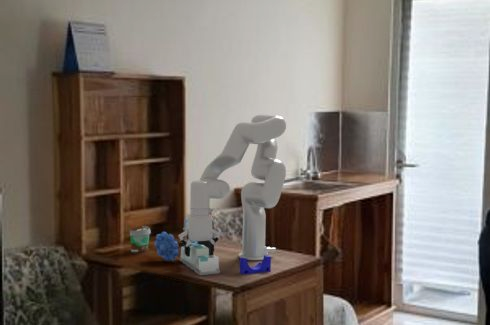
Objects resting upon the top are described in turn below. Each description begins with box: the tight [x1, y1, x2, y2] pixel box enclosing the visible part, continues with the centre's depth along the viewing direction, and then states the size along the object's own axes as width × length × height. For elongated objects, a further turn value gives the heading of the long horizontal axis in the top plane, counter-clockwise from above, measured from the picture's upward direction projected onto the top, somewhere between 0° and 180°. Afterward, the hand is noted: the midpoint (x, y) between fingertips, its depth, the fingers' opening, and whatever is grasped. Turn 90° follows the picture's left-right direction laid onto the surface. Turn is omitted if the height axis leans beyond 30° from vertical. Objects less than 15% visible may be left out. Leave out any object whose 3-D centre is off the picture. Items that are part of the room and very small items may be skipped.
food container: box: [129, 225, 152, 254], centre depth 307 cm, size 12×6×10 cm, turn 161°
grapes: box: [153, 231, 180, 262], centre depth 291 cm, size 12×7×12 cm, turn 64°
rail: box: [179, 245, 220, 276], centre depth 283 cm, size 8×24×6 cm, turn 23°
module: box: [191, 244, 209, 266], centre depth 283 cm, size 5×7×8 cm
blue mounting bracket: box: [239, 254, 272, 275], centre depth 278 cm, size 12×4×6 cm, turn 117°
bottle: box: [197, 212, 215, 256], centre depth 299 cm, size 7×7×20 cm
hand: (199, 254), depth 283 cm, fingers open, 9 cm apart
